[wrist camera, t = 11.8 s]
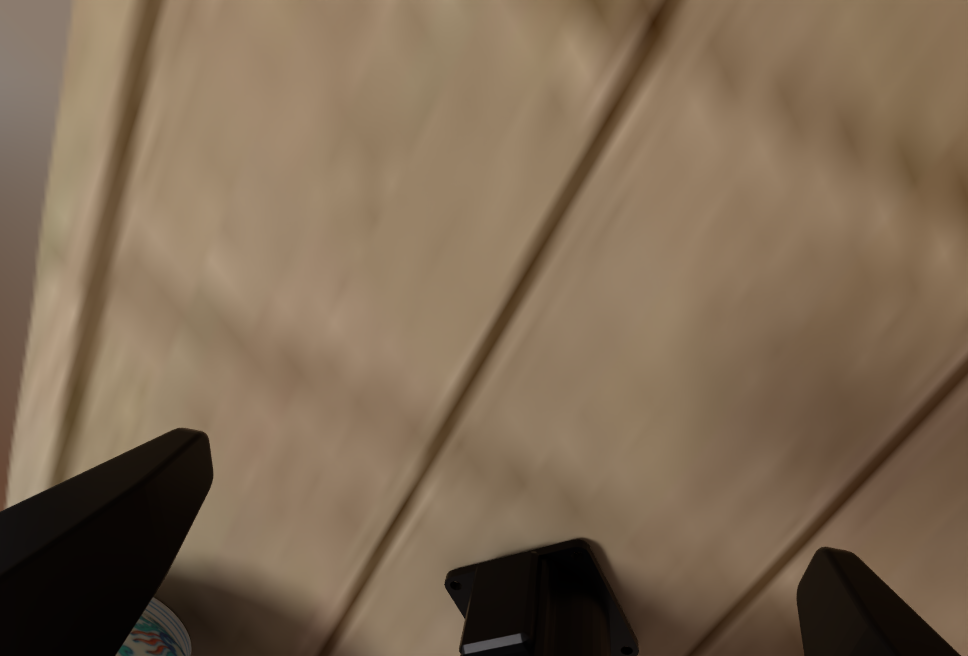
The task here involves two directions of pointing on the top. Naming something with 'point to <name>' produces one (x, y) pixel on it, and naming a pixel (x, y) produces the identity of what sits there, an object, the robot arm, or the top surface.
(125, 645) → the chinaware
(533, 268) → the top surface
